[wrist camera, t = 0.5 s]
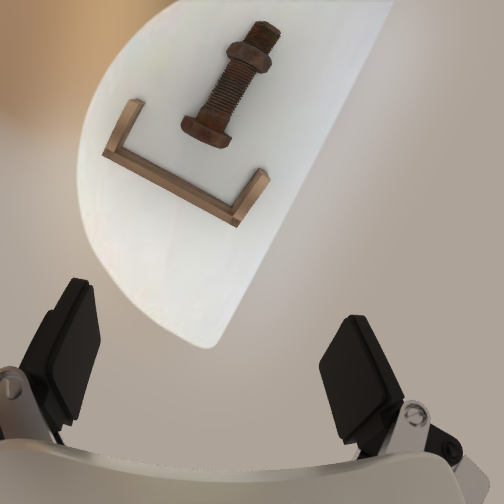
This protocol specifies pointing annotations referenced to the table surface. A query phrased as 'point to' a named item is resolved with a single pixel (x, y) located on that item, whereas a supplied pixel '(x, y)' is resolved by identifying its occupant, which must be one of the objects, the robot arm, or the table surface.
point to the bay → (175, 183)
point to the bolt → (233, 85)
